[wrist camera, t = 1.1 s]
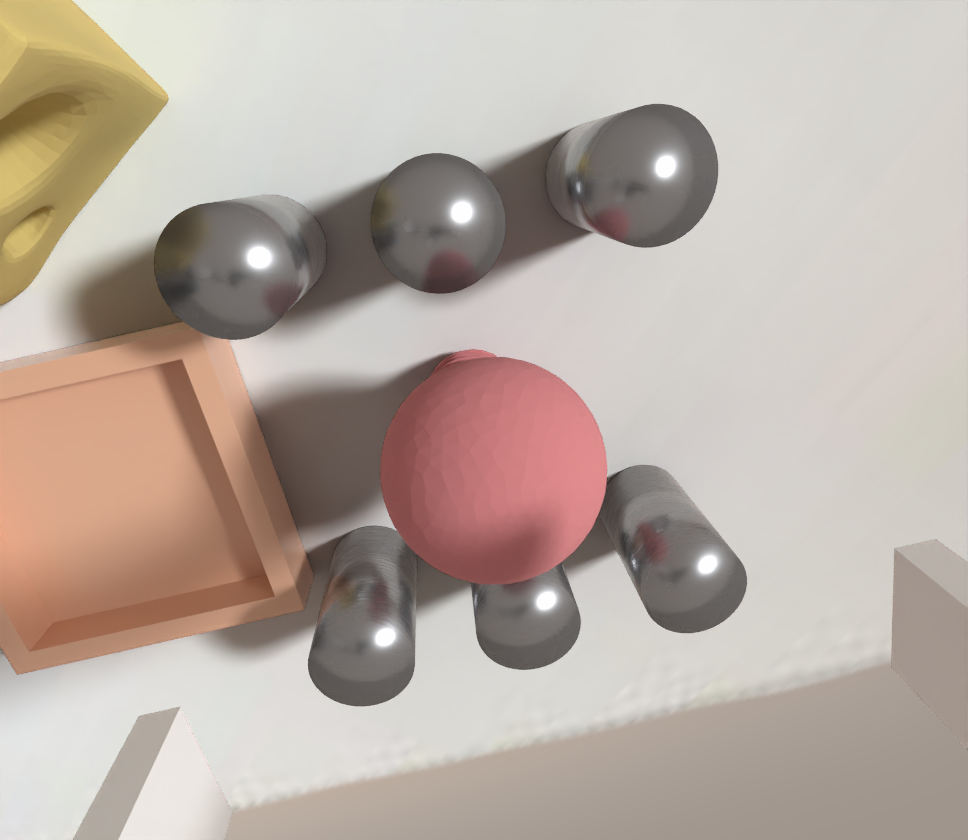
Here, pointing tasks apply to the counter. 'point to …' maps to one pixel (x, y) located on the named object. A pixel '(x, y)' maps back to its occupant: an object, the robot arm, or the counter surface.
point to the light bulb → (493, 469)
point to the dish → (136, 500)
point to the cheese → (59, 125)
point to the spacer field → (449, 268)
